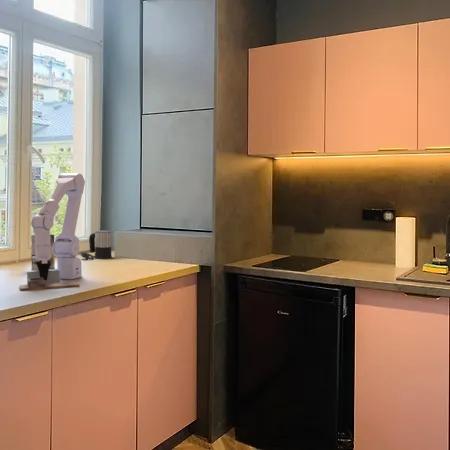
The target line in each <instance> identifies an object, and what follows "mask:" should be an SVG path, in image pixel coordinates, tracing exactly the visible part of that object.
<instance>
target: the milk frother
mask: <svg viewBox="0 0 450 450" xmlns="http://www.w3.org/2000/svg"><path fill="white" fill-rule="evenodd" d="M112 232H113V231H112V230H104V229H103V230H101V229H100V230H94V232H92V233H91V234H90V235H89V236H88V240H89V253H88V252H81V253H80V256H81V257H82V258H83V259H85V260H86V261H87V260H93V259H98V260H99V259H100V260H101V259H103V260H106V259H112V257H113V256H112ZM90 253H94V255H93V254H90Z"/></svg>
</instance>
